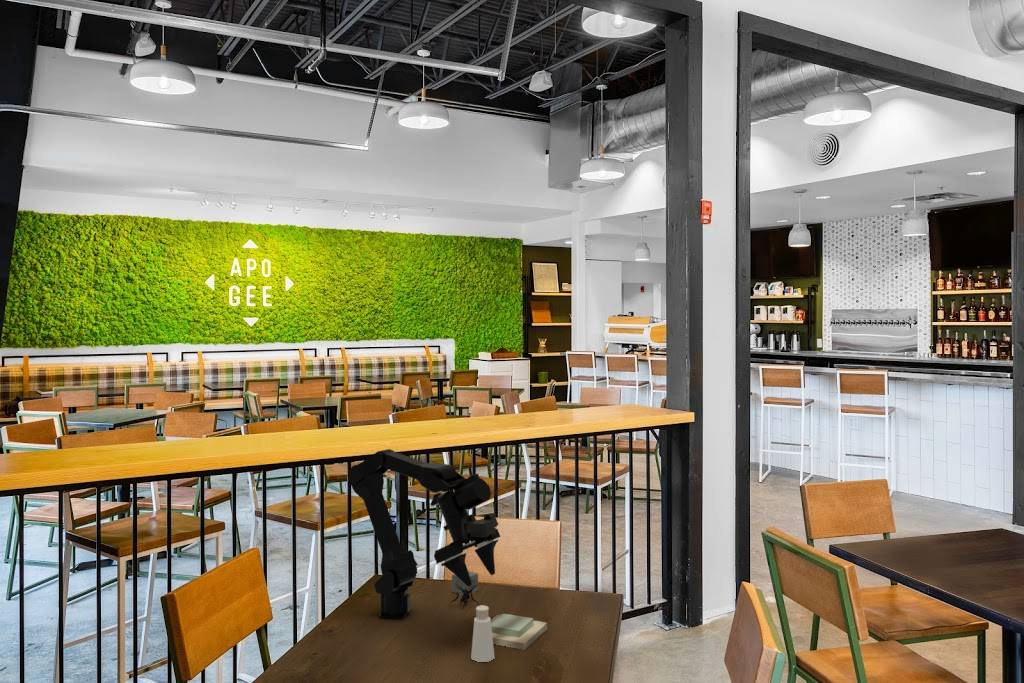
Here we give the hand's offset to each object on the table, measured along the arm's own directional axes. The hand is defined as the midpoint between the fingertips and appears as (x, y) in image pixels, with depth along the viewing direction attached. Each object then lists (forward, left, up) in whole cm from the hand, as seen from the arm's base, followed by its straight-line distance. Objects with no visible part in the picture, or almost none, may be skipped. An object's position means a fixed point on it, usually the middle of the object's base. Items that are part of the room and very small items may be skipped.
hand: (481, 580), depth 173 cm
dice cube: (-11, +29, -14) cm, 34 cm away
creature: (-9, +19, -14) cm, 25 cm away
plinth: (+6, +2, -13) cm, 15 cm away
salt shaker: (+2, -11, -13) cm, 17 cm away
